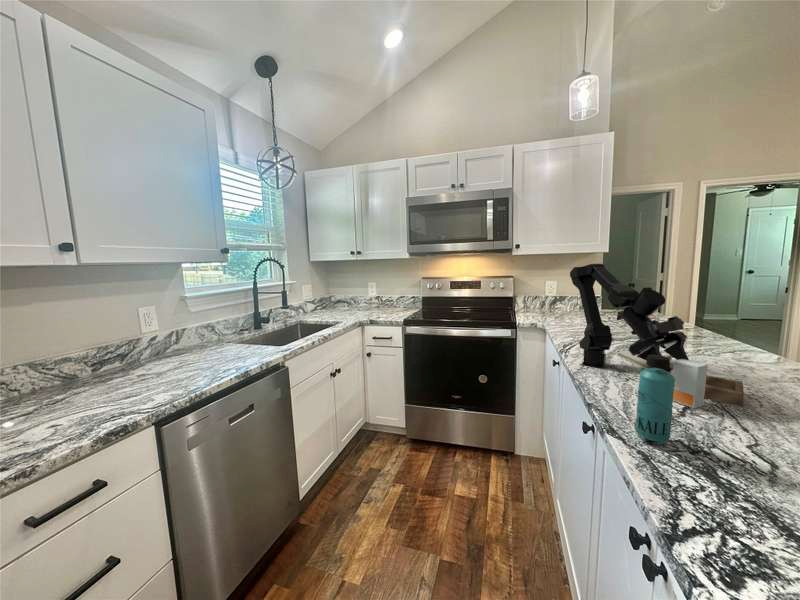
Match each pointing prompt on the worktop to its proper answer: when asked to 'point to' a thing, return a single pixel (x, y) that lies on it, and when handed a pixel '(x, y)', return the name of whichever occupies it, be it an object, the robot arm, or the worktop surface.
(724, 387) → the walnut holder
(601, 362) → the robot arm
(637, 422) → the beverage bottle
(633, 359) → the washcloth
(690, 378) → the skincare box
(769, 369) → the worktop surface
